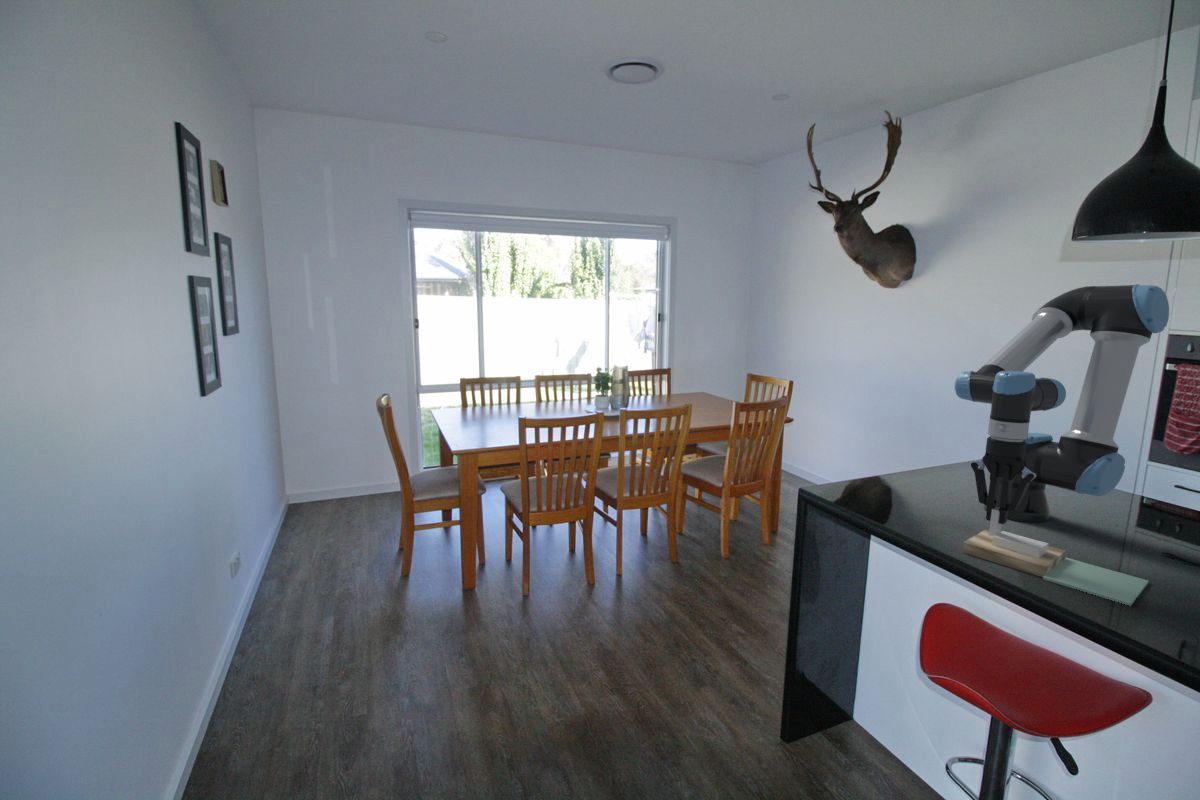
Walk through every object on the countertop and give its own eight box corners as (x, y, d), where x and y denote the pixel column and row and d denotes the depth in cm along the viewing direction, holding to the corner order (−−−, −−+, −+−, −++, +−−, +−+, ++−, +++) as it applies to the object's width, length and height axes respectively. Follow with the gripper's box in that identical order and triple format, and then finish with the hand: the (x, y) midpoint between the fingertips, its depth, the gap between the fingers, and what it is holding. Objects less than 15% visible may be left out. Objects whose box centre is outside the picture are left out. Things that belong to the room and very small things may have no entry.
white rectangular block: (991, 544, 133) (992, 536, 133) (1001, 538, 137) (1002, 530, 136) (1038, 558, 126) (1039, 549, 126) (1047, 551, 130) (1048, 543, 129)
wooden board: (985, 538, 143) (986, 529, 143) (1064, 561, 131) (1065, 550, 130) (962, 552, 135) (963, 542, 134) (1044, 577, 122) (1045, 566, 122)
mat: (1065, 559, 131) (1065, 557, 131) (1148, 583, 120) (1148, 580, 120) (1042, 579, 122) (1043, 576, 122) (1130, 606, 111) (1130, 603, 111)
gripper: (968, 435, 134) (957, 529, 138) (1034, 446, 124) (1020, 548, 128) (981, 431, 139) (970, 523, 143) (1046, 441, 129) (1032, 540, 132)
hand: (994, 535), depth 135 cm, fingers closed
